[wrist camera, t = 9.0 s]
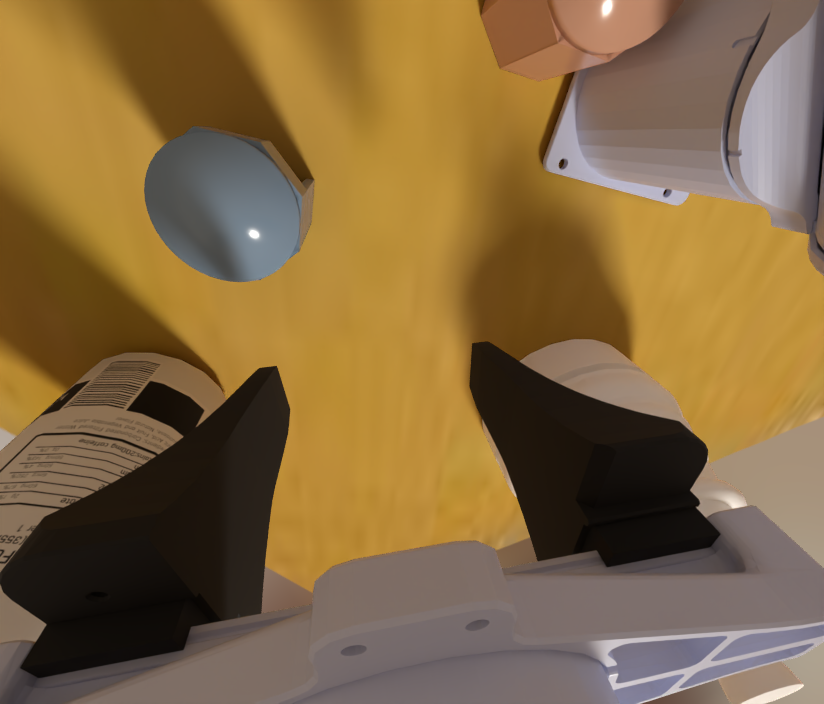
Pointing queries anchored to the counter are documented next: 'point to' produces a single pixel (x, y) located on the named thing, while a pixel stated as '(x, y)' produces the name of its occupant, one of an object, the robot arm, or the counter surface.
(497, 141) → the counter surface
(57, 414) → the supplement can
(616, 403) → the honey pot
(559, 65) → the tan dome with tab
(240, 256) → the slate-blue dome with prongs
